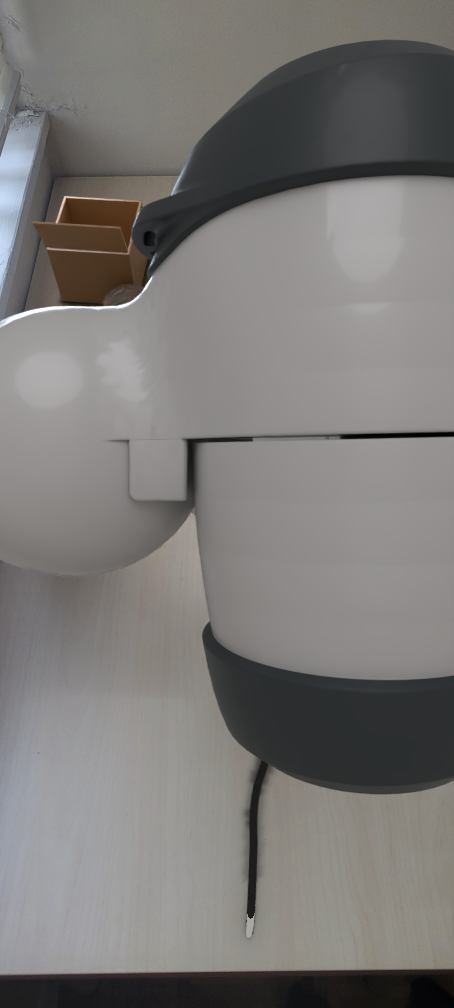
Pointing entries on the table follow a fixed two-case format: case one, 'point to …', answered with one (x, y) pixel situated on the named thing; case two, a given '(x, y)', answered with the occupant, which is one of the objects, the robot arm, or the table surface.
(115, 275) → the carton
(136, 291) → the vase
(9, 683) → the table surface
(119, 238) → the flap
